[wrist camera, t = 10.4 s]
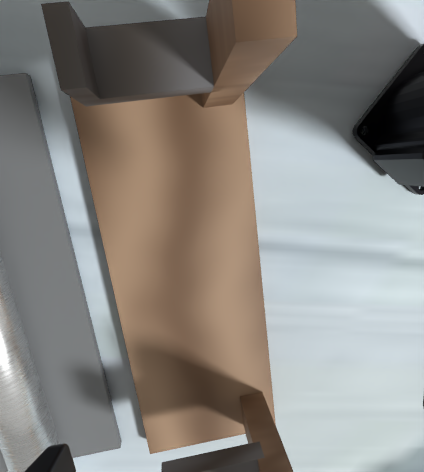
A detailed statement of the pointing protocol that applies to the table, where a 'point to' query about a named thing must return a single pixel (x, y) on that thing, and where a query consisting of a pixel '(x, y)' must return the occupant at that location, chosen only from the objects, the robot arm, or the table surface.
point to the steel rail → (20, 390)
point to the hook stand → (182, 215)
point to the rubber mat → (49, 279)
